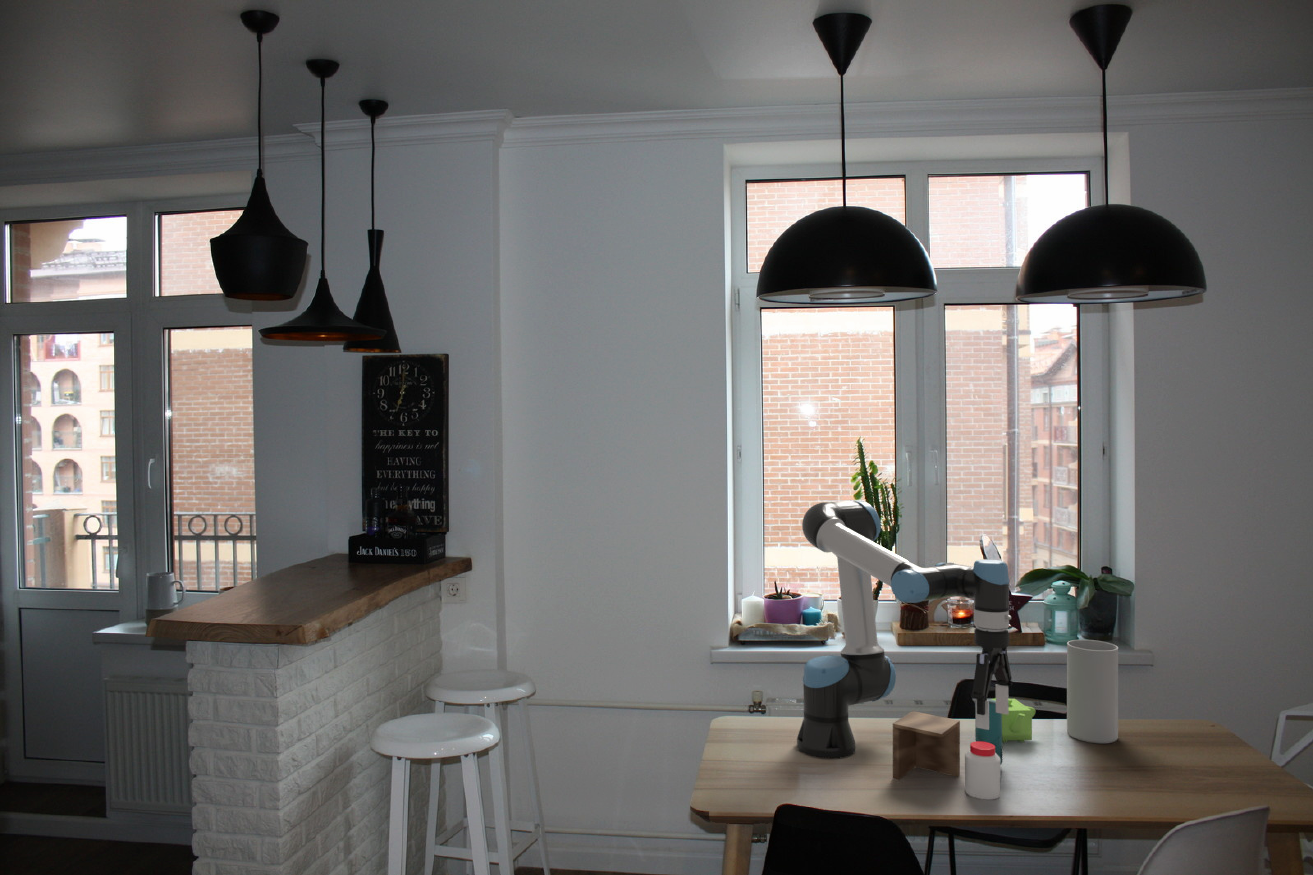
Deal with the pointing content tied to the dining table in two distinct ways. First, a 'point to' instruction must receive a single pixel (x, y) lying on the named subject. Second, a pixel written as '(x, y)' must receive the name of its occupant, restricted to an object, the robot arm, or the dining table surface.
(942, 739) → the awning shelf
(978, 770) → the pill bottle
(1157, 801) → the dining table surface
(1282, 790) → the dining table surface
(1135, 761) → the dining table surface
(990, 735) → the beverage bottle
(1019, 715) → the teapot
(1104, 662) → the cylinder vase
